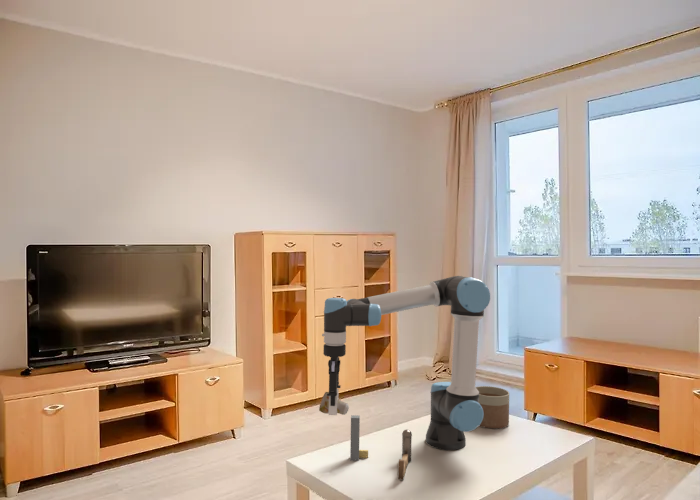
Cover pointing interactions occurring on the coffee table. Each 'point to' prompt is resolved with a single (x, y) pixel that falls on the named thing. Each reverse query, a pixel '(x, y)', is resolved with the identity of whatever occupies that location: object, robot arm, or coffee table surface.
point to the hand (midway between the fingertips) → (333, 410)
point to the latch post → (356, 440)
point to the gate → (402, 466)
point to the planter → (494, 406)
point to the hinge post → (406, 443)
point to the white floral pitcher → (341, 406)
